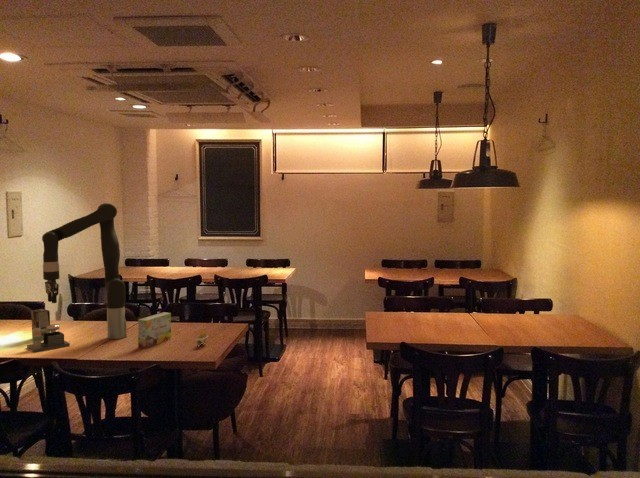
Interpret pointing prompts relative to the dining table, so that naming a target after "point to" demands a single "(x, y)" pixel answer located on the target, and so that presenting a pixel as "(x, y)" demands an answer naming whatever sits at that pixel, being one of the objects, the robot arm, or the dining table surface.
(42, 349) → the stand
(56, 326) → the plunger
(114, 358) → the dining table surface
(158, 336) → the snack box
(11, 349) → the dining table surface
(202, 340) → the pale green irregular piece
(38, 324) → the coffee box
